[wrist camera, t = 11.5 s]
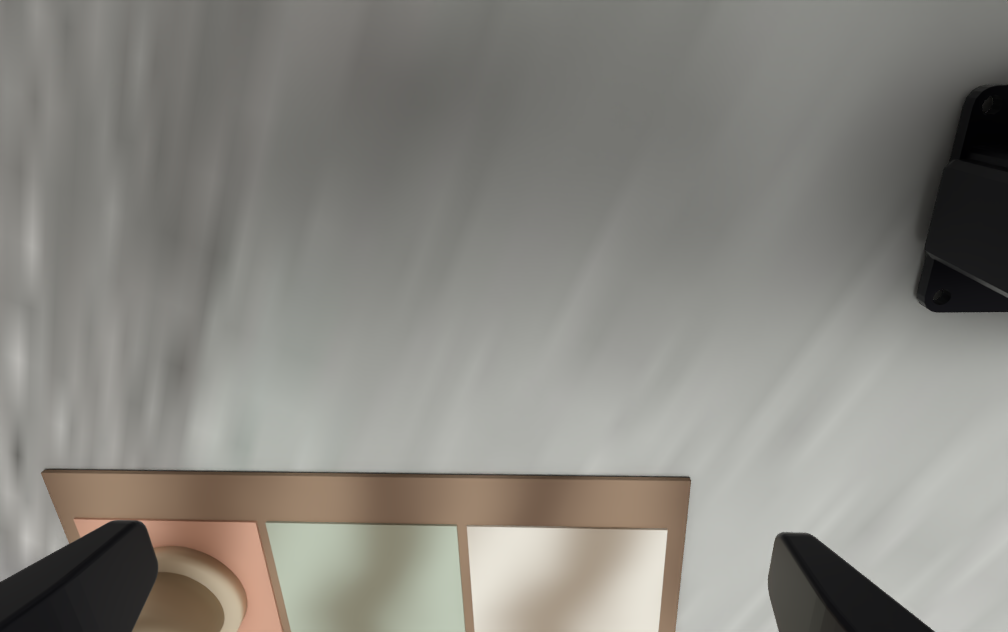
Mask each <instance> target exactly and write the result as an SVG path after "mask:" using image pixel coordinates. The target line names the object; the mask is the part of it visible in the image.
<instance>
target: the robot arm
mask: <svg viewBox="0 0 1008 632" xmlns="http://www.w3.org/2000/svg"><path fill="white" fill-rule="evenodd" d="M990 96H991V97H992V98H993V104H992V106H991V108H990V109H989V110H988V111H987V112H986V113H984V112H983V111H982V105H983V103H984V101H985V100H986V99H987V98H989V97H990ZM925 251H926V252H927V255H926V259H925V263H924V267H923V271H922V275H921V279H920V284H919V288H918V292H917V299H918V301H919V303H920V304H921V305H923V306H924V307H926V308H927V309H929V310H930V311H933V312H1008V84H991V85H984V86H980V87H978V88H976V89H975V90H973V91H972V92H971V93H970V94H969V95H968V96H967V98H966V100H965V102H964V105H963V109H962V113H961V117H960V121H959V125H958V129H957V133H956V137H955V141H954V145H953V149H952V153H951V158H950V162H949V164H948V165H947V166H946V167H945V168H944V170H943V175H942V179H941V183H940V187H939V191H938V195H937V199H936V203H935V207H934V212H933V216H932V220H931V224H930V228H929V232H928V236H927V240H926V244H925ZM942 289H943V293H942V295H941V297H939V298H938V299H936V300H933V296H934V294H935V293H936V292H938V291H939V290H942ZM157 574H158V560H157V557H156V554H155V551H154V548H153V545H152V542H151V539H150V536H149V533H148V530H147V528H146V526H145V525H144V524H143V523H142V522H141V521H137V520H114V521H110V522H108V523H106V524H104V525H103V526H101V527H99V528H97V529H95V530H93V531H92V532H90V533H88V534H86V535H84V536H83V537H81V538H79V539H77V540H75V541H74V542H72V543H70V544H68V545H66V546H65V547H63V548H61V549H59V550H57V551H56V552H54V553H52V554H50V555H48V556H47V557H45V558H43V559H41V560H39V561H38V562H36V563H34V564H32V565H30V566H28V567H27V568H25V569H23V570H21V571H19V572H18V573H16V574H14V575H12V576H10V577H9V578H7V579H5V580H3V581H1V582H0V632H132V631H133V629H134V626H135V624H136V622H137V620H138V618H139V616H140V614H141V611H142V609H143V607H144V605H145V603H146V601H147V598H148V596H149V594H150V592H151V590H152V588H153V586H154V583H155V581H156V578H157ZM768 590H769V596H770V600H771V604H772V607H773V611H774V615H775V619H776V622H777V626H778V630H779V632H935V631H933V630H932V629H931V628H930V627H928V626H927V625H926V624H924V623H923V622H922V621H921V620H919V619H918V618H917V617H916V616H914V615H913V614H912V613H911V612H909V611H908V610H907V609H905V608H904V607H903V606H902V605H900V604H899V603H898V602H897V601H895V600H894V599H893V598H892V597H890V596H889V595H888V594H886V593H885V592H884V591H883V590H881V589H880V588H879V587H878V586H876V585H875V584H874V583H873V582H871V581H870V580H869V579H867V578H866V577H865V576H864V575H862V574H861V573H860V572H859V571H857V570H856V569H855V568H854V567H852V566H851V565H850V564H849V563H847V562H846V561H845V560H843V559H842V558H841V557H840V556H838V555H837V554H836V553H835V552H833V551H832V550H831V549H830V548H828V547H827V546H826V545H824V544H823V543H822V542H821V541H819V540H818V539H817V538H816V537H814V536H813V535H811V534H808V533H792V532H783V533H780V534H778V535H777V537H776V538H775V542H774V547H773V553H772V558H771V564H770V569H769V575H768Z"/></svg>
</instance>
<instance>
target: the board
mask: <svg viewBox="0 0 1008 632" xmlns="http://www.w3.org/2000/svg"><path fill="white" fill-rule="evenodd" d="M41 474H42V477H43V479H44V482H45V484H46V487H47V489H48V492H49V494H50V497H51V499H52V502H53V504H54V507H55V509H56V512H57V514H58V517H59V519H60V522H61V524H62V527H63V529H64V531H65V534H66V536H67V539H68V541H69V544H70V543H72V542H74V541H75V540H77V539H79V538H81V537H83V536H84V535H86V534H88V533H90V532H92V531H93V530H95V529H97V528H99V527H101V526H103V525H104V524H106V523H108V522H110V521H114V520H137V521H141V522H142V523H143V524H144V525H145V526H146V528H147V530H148V533H149V536H150V539H151V542H152V545H153V548H155V547H161V546H181V547H187V548H191V549H195V550H198V551H201V552H203V553H206V554H208V555H210V556H212V557H214V558H215V559H217V560H219V561H220V562H222V563H223V564H224V565H226V566H227V567H228V568H229V569H230V570H231V571H232V572H233V573H234V574H235V575H236V576H237V578H238V579H239V580H240V582H241V583H242V585H243V587H244V589H245V592H246V595H247V606H248V607H247V612H246V615H245V617H244V619H243V621H242V623H241V625H240V626H239V628H238V630H237V632H675V628H676V619H677V609H678V600H679V590H680V581H681V571H682V562H683V552H684V543H685V533H686V524H687V514H688V504H689V495H690V485H691V480H690V478H678V477H597V476H517V475H436V474H355V473H274V472H194V471H113V470H44V471H43V472H41Z"/></svg>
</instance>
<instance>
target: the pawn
mask: <svg viewBox="0 0 1008 632" xmlns="http://www.w3.org/2000/svg"><path fill="white" fill-rule="evenodd" d="M154 551H155V554H156V557H157V560H158V574H157V578H156V581H155V583H154V586H153V588H152V590H151V592H150V594H149V596H148V598H147V601H146V603H145V605H144V607H143V609H142V611H141V614H140V616H139V618H138V620H137V622H136V624H135V626H134V629H133V631H132V632H237V630H238V628H239V626H240V625H241V623H242V621H243V619H244V617H245V615H246V612H247V607H248V606H247V595H246V592H245V589H244V587H243V585H242V583H241V582H240V580H239V579H238V578H237V576H236V575H235V574H234V573H233V572H232V571H231V570H230V569H229V568H228V567H227V566H226V565H224V564H223V563H222V562H220V561H219V560H217V559H215V558H214V557H212V556H210V555H208V554H206V553H203V552H201V551H198V550H195V549H191V548H187V547H181V546H161V547H155V548H154Z"/></svg>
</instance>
